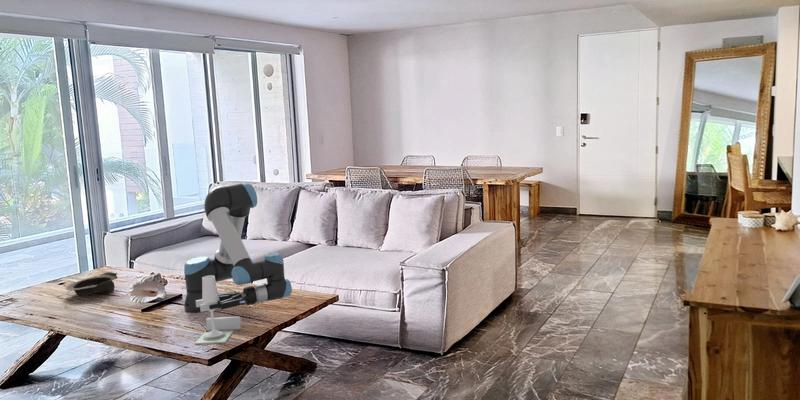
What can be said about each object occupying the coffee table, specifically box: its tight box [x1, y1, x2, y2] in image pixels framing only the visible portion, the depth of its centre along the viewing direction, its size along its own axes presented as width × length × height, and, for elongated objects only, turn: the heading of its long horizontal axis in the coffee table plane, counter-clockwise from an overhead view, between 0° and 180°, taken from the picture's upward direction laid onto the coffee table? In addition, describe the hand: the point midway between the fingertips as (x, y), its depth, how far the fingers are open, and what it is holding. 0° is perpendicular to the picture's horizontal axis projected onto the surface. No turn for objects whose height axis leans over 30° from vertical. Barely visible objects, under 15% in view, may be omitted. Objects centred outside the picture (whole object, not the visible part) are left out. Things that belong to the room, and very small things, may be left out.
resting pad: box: [194, 330, 234, 346], centre depth 247 cm, size 12×12×1 cm
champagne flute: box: [202, 275, 223, 337], centre depth 245 cm, size 7×7×24 cm
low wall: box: [205, 316, 242, 332], centre depth 256 cm, size 14×2×5 cm, turn 90°
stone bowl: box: [65, 271, 118, 297], centre depth 321 cm, size 25×25×9 cm
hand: (198, 306), depth 242 cm, fingers closed on champagne flute, 7 cm apart
